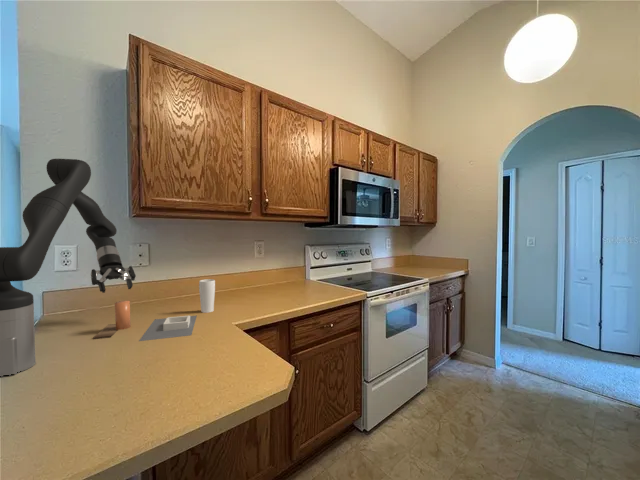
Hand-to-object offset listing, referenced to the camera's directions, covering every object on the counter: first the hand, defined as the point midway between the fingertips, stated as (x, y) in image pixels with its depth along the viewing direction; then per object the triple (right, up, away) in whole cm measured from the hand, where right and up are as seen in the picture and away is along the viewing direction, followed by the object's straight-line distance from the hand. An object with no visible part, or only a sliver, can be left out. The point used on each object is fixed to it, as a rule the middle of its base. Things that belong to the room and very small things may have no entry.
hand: (117, 289), depth 111 cm
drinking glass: (+29, -14, +17) cm, 36 cm away
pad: (+6, -14, -5) cm, 16 cm away
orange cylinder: (+6, -14, -5) cm, 16 cm away
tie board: (+23, -14, -4) cm, 28 cm away
